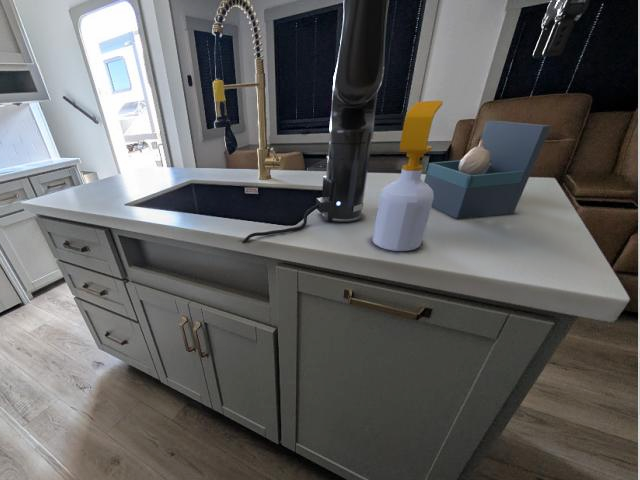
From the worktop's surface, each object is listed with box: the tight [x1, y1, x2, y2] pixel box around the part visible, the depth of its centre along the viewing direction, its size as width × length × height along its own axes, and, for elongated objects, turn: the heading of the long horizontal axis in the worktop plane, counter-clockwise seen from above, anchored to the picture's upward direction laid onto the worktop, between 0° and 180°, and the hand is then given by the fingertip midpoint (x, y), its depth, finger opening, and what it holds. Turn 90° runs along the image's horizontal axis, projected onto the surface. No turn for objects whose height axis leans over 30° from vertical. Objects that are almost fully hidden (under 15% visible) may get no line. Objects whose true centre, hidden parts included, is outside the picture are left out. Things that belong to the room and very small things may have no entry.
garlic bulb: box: [459, 138, 492, 175], centre depth 72 cm, size 7×6×8 cm
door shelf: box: [423, 120, 552, 220], centre depth 73 cm, size 14×16×18 cm
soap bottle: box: [372, 100, 443, 252], centre depth 57 cm, size 9×9×25 cm
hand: (545, 56), depth 50 cm, fingers open, 8 cm apart
